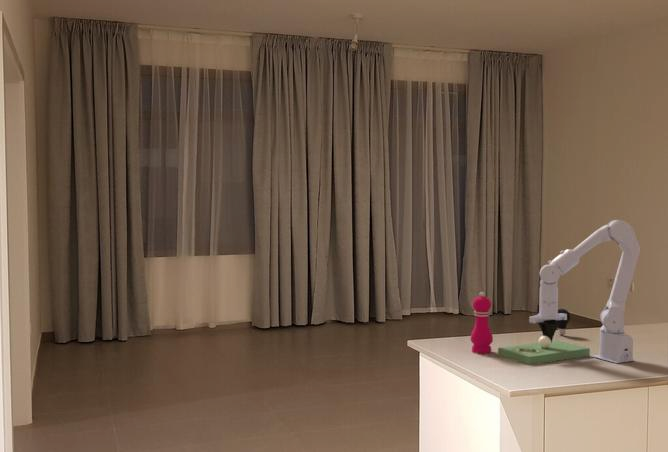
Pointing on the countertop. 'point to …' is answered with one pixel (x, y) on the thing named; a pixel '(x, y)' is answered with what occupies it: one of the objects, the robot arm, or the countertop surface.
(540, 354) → the putting mat
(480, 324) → the pepper mill
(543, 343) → the golf ball
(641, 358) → the countertop surface
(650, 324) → the countertop surface
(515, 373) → the countertop surface
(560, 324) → the light bulb
